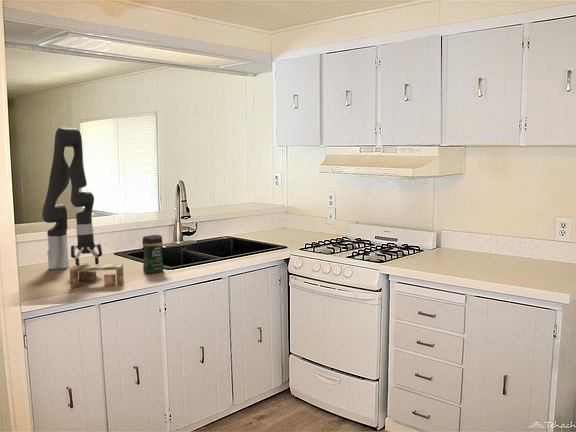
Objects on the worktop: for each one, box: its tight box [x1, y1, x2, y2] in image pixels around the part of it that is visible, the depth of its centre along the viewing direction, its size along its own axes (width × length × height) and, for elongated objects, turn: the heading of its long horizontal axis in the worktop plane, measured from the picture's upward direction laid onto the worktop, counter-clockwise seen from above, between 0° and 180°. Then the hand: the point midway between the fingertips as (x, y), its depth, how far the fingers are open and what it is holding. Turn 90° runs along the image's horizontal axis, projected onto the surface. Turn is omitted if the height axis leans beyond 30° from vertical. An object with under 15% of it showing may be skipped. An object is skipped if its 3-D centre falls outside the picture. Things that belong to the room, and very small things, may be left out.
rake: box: [78, 262, 98, 284], centre depth 265 cm, size 8×20×5 cm, turn 15°
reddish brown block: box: [103, 273, 117, 287], centre depth 250 cm, size 5×5×4 cm
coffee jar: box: [141, 234, 164, 274], centre depth 273 cm, size 10×8×19 cm
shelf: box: [69, 263, 125, 289], centre depth 249 cm, size 22×7×9 cm, turn 99°
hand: (87, 265), depth 269 cm, fingers open, 8 cm apart
